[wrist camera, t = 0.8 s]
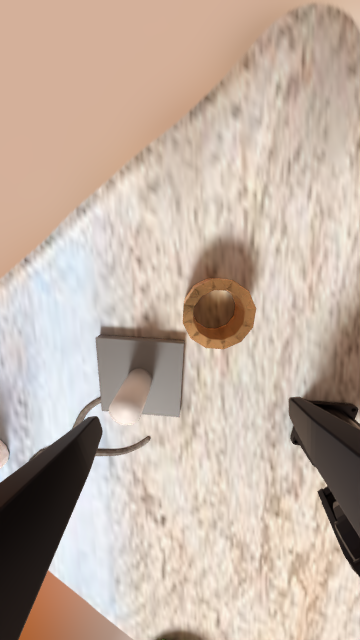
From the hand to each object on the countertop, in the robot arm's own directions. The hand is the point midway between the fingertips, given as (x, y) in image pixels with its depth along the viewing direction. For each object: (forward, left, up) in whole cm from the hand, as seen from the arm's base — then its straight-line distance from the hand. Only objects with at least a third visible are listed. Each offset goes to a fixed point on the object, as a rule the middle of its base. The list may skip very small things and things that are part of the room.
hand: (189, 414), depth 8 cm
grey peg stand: (+6, +6, -12) cm, 15 cm away
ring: (-2, -3, -12) cm, 13 cm away
